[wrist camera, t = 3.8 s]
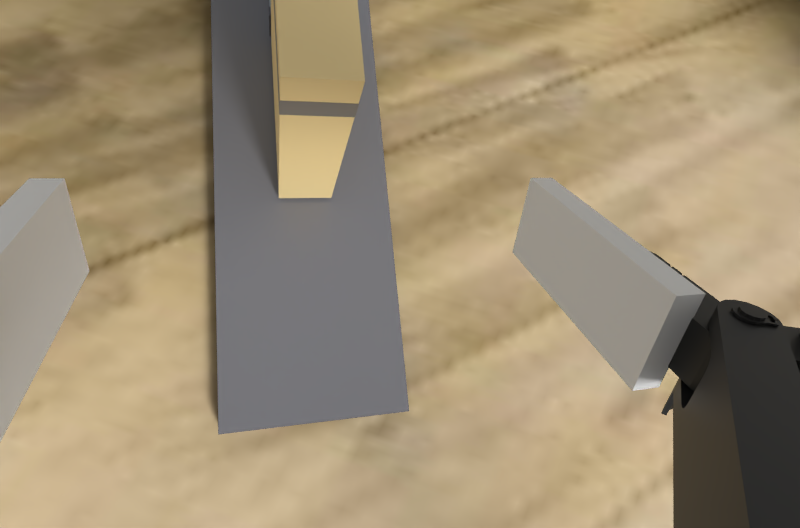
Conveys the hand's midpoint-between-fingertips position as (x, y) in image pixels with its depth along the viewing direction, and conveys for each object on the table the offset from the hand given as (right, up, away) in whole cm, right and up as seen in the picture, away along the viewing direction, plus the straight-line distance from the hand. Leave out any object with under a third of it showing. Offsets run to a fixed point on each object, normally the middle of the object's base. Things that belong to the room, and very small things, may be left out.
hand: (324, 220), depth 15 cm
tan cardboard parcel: (-4, +7, +15) cm, 17 cm away
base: (-4, +7, +17) cm, 19 cm away
